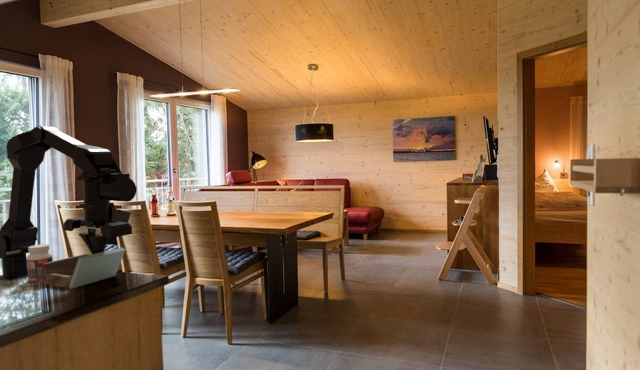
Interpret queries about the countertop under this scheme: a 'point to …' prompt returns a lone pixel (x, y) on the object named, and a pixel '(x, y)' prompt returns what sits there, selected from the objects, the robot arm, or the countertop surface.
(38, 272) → the pill bottle
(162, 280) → the countertop surface
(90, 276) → the pale green rectangular panel
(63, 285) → the wooden open crate
